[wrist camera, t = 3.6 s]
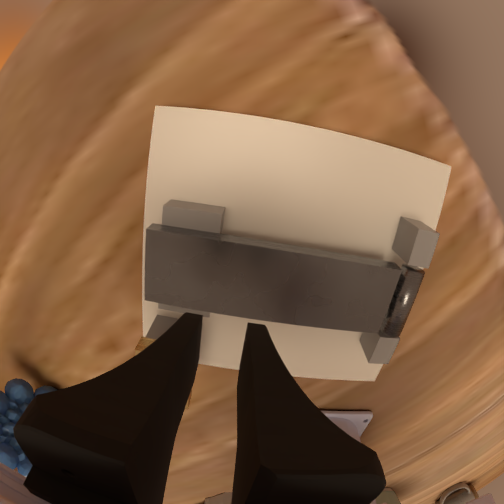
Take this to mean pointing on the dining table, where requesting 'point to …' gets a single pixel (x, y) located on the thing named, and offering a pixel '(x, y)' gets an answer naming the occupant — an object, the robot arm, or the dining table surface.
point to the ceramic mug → (458, 494)
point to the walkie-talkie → (220, 499)
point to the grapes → (7, 415)
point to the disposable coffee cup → (387, 497)
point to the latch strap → (277, 281)
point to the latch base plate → (289, 218)
